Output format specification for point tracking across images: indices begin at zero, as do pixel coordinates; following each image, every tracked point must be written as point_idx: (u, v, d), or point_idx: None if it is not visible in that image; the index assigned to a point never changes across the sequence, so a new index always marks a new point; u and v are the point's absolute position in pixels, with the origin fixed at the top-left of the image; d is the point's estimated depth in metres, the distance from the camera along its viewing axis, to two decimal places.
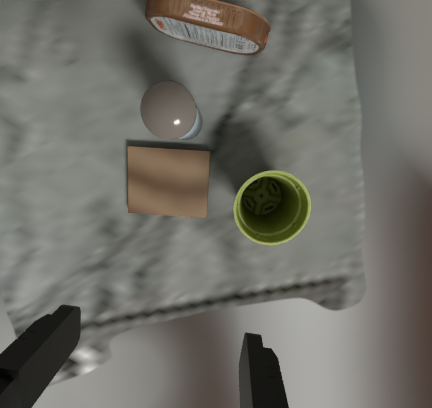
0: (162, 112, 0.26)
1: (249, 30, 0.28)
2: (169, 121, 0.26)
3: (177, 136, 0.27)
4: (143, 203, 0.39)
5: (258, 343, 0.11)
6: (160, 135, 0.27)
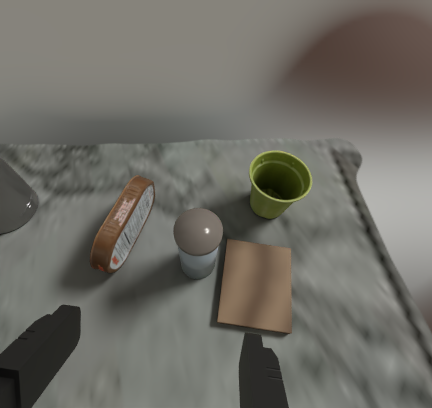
0: (199, 234, 0.29)
1: (143, 183, 0.37)
2: (207, 229, 0.29)
3: (221, 224, 0.30)
4: (280, 312, 0.36)
5: (258, 343, 0.11)
6: (219, 238, 0.29)
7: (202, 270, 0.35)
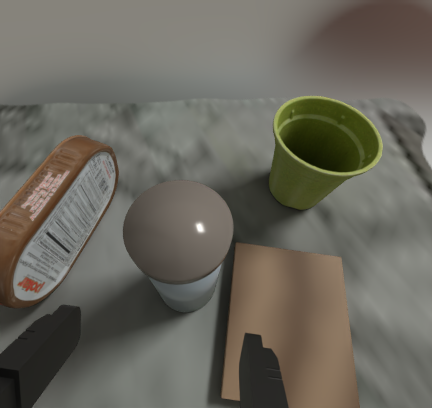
0: (181, 235, 0.13)
1: (88, 145, 0.21)
2: (199, 224, 0.13)
3: (228, 214, 0.14)
4: (335, 376, 0.20)
5: (258, 343, 0.11)
6: (225, 244, 0.13)
7: (192, 302, 0.19)
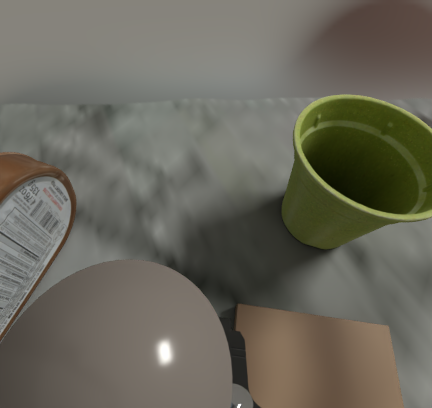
0: None
1: (12, 169, 0.14)
2: (157, 375, 0.06)
3: (223, 343, 0.06)
4: None
5: (227, 326, 0.12)
6: None
7: None
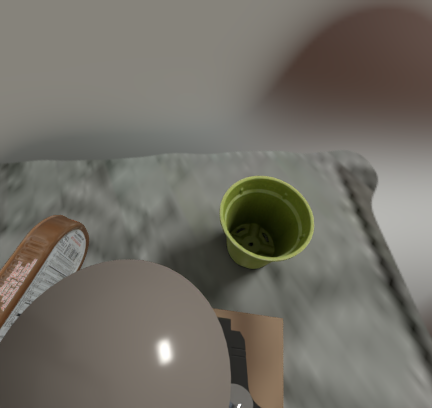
0: None
1: (56, 230, 0.24)
2: (156, 375, 0.06)
3: (221, 343, 0.06)
4: None
5: (227, 326, 0.12)
6: None
7: None
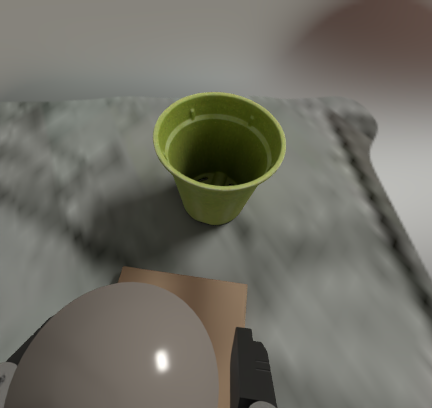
0: None
1: None
2: (155, 385, 0.07)
3: (211, 357, 0.07)
4: None
5: (248, 337, 0.12)
6: None
7: None
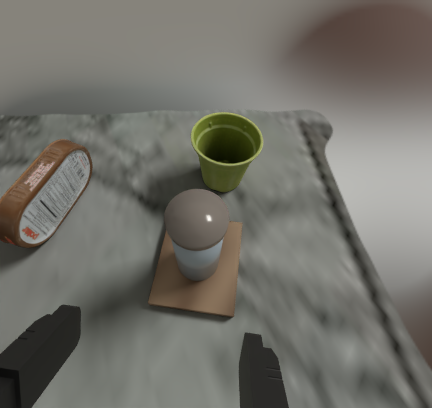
0: (198, 222, 0.22)
1: (68, 146, 0.33)
2: (209, 215, 0.22)
3: (226, 209, 0.23)
4: (222, 293, 0.31)
5: (258, 343, 0.11)
6: (224, 227, 0.22)
7: (203, 270, 0.28)
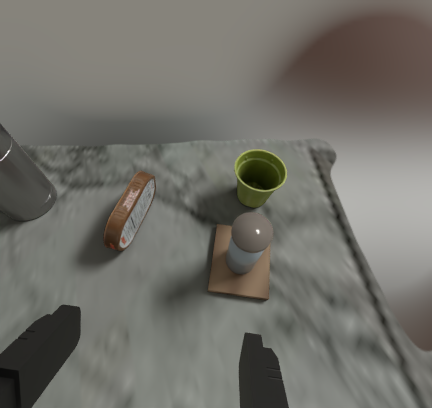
0: (254, 234, 0.34)
1: (146, 176, 0.45)
2: (260, 230, 0.35)
3: (271, 226, 0.35)
4: (259, 283, 0.43)
5: (258, 343, 0.11)
6: (271, 238, 0.34)
7: (249, 266, 0.40)
